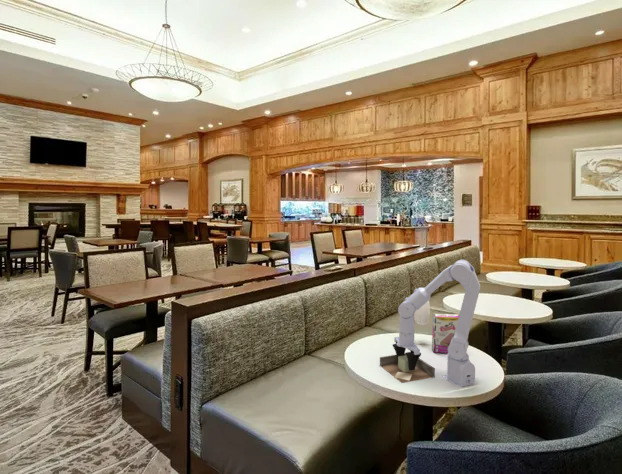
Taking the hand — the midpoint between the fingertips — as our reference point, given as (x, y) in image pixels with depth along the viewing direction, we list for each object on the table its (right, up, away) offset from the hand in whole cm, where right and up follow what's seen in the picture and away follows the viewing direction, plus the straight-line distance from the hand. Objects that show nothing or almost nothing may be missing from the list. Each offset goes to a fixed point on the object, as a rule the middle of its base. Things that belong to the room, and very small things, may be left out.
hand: (406, 366), depth 148 cm
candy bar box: (+22, 0, +19) cm, 29 cm away
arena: (0, -2, -2) cm, 3 cm away
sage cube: (0, -1, 0) cm, 1 cm away
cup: (+14, 0, +28) cm, 31 cm away
